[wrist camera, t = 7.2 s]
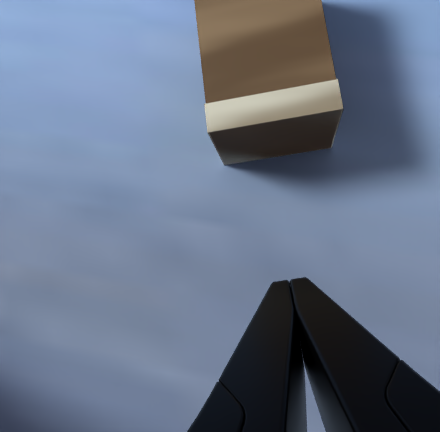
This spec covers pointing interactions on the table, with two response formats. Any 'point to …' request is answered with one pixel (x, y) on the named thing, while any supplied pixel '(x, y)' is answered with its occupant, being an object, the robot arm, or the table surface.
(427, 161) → the table surface
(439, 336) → the table surface
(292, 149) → the brown rectangular block
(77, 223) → the table surface
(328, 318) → the robot arm
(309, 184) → the table surface
